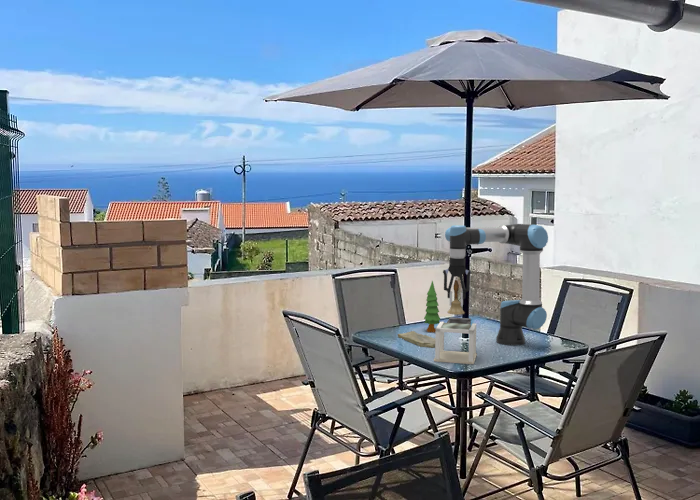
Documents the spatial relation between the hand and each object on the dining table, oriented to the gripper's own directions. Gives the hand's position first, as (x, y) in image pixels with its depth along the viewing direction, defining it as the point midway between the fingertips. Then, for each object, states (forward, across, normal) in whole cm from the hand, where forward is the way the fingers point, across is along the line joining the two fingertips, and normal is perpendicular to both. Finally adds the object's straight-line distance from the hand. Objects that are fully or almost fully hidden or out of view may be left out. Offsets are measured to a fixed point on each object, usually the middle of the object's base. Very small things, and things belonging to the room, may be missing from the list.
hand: (456, 305), depth 332 cm
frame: (+27, 0, -3) cm, 27 cm away
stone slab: (+27, +22, -33) cm, 49 cm away
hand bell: (+4, 0, 0) cm, 4 cm away
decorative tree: (+27, +20, -62) cm, 70 cm away
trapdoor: (+12, 0, -8) cm, 15 cm away
